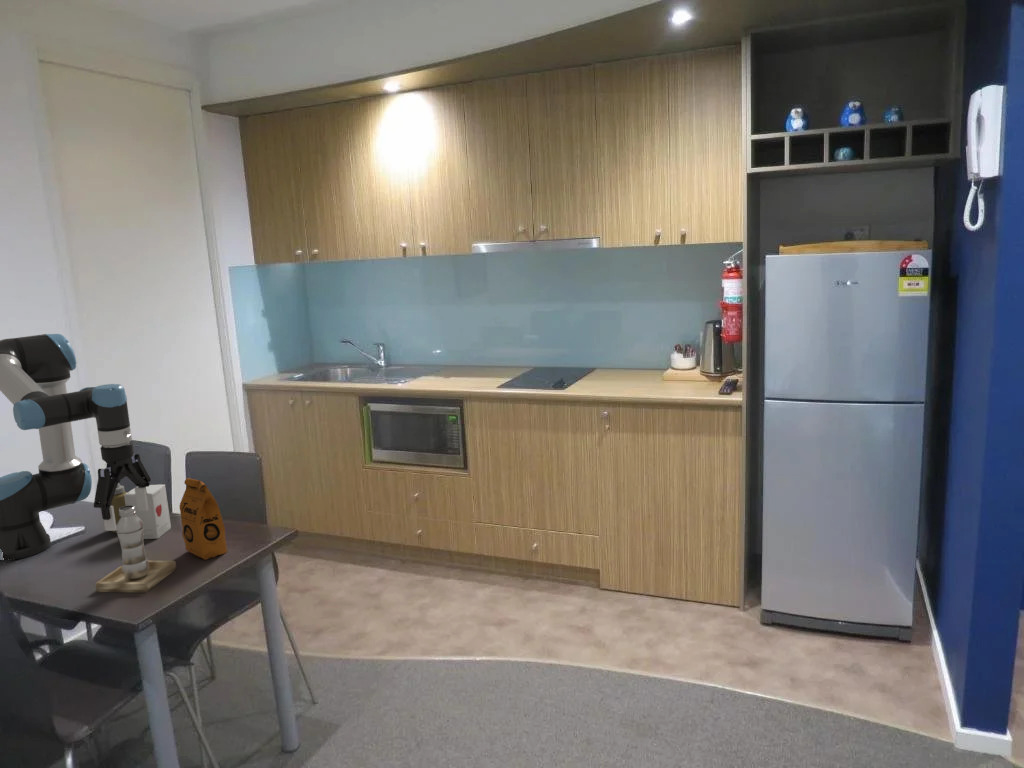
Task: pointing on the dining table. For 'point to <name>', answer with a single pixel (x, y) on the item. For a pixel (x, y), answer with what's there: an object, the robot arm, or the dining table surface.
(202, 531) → the coffee package
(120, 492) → the squeeze bottle
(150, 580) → the bamboo tray
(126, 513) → the plastic bottle
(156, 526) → the supplement box
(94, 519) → the dining table surface
